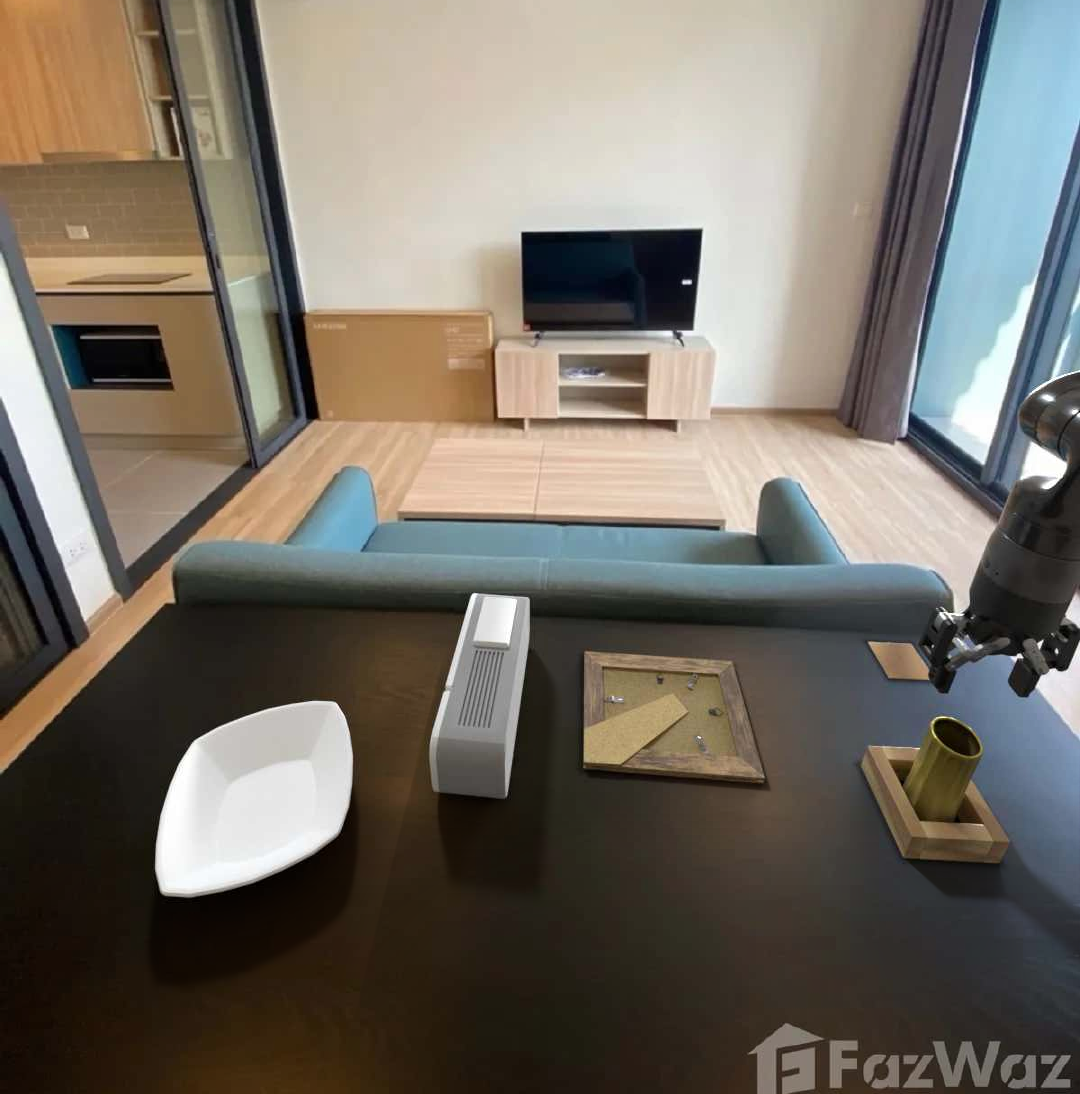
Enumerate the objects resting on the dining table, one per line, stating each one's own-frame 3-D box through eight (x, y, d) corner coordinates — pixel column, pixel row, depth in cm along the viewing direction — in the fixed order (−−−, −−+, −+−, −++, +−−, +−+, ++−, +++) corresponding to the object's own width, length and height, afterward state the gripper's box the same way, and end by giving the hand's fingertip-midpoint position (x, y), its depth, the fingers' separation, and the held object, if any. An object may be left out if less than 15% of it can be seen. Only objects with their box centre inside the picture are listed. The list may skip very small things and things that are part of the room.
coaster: (910, 646, 98) (911, 643, 97) (935, 682, 91) (936, 679, 91) (866, 644, 98) (867, 641, 98) (888, 680, 91) (889, 677, 91)
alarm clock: (475, 637, 99) (472, 583, 94) (529, 642, 98) (529, 587, 93) (433, 805, 74) (427, 742, 69) (505, 813, 73) (504, 750, 68)
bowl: (188, 757, 79) (179, 731, 77) (353, 711, 86) (349, 686, 84) (147, 949, 60) (134, 921, 58) (362, 871, 67) (357, 843, 65)
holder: (943, 771, 78) (952, 749, 76) (998, 865, 68) (1010, 841, 66) (859, 767, 79) (867, 745, 77) (902, 859, 68) (912, 836, 67)
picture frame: (583, 770, 78) (763, 785, 76) (583, 761, 77) (765, 776, 76) (584, 657, 95) (731, 667, 93) (584, 649, 94) (732, 659, 93)
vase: (933, 788, 76) (965, 713, 70) (964, 840, 70) (1001, 762, 65) (887, 787, 76) (915, 711, 71) (913, 838, 71) (946, 761, 65)
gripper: (978, 597, 55) (931, 716, 61) (1133, 603, 54) (1070, 723, 61) (932, 547, 62) (894, 658, 68) (1070, 552, 61) (1019, 663, 68)
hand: (977, 688), depth 65 cm, fingers open, 8 cm apart
